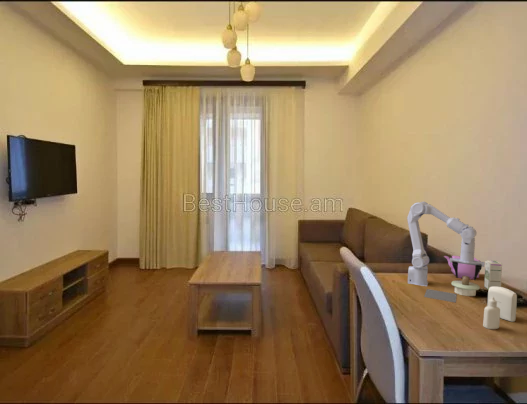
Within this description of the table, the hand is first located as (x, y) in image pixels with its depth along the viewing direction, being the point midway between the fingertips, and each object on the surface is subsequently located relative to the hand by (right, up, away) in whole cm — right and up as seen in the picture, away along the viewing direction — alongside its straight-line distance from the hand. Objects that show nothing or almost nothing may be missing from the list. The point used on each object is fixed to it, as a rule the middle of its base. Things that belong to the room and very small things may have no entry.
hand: (465, 278), depth 166 cm
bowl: (0, -8, +1) cm, 8 cm away
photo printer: (-1, -10, -27) cm, 28 cm away
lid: (0, -4, 0) cm, 4 cm away
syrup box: (+18, -7, +8) cm, 21 cm away
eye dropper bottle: (-12, -11, -36) cm, 40 cm away
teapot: (+15, -6, +30) cm, 34 cm away
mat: (-14, -8, -4) cm, 17 cm away
